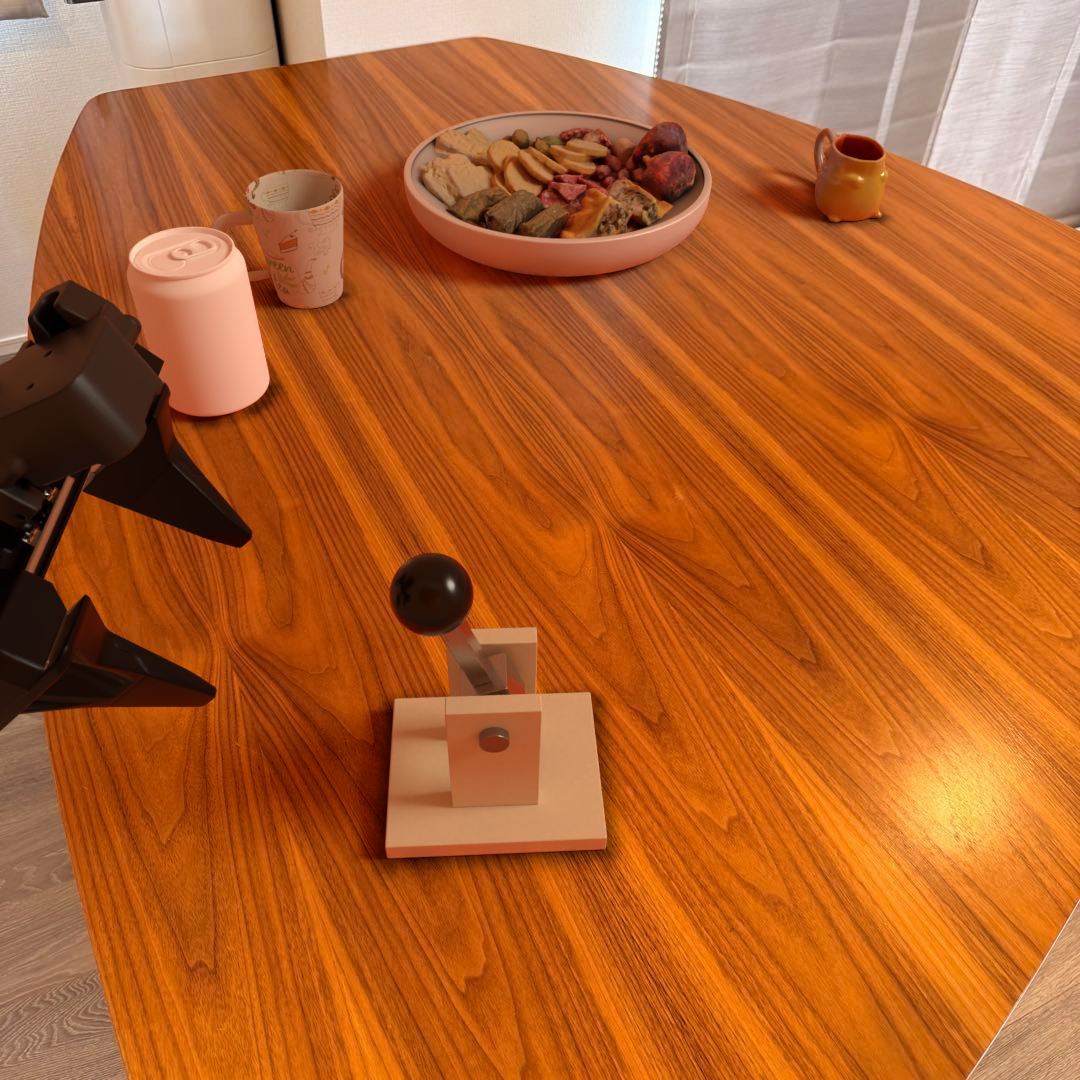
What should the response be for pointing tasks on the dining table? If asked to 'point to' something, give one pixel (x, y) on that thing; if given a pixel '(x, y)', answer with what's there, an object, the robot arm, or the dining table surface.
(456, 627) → the lever
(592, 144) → the bowl
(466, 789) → the bracket
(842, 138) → the mug
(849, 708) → the dining table surface
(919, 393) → the dining table surface
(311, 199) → the mug
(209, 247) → the beverage can
